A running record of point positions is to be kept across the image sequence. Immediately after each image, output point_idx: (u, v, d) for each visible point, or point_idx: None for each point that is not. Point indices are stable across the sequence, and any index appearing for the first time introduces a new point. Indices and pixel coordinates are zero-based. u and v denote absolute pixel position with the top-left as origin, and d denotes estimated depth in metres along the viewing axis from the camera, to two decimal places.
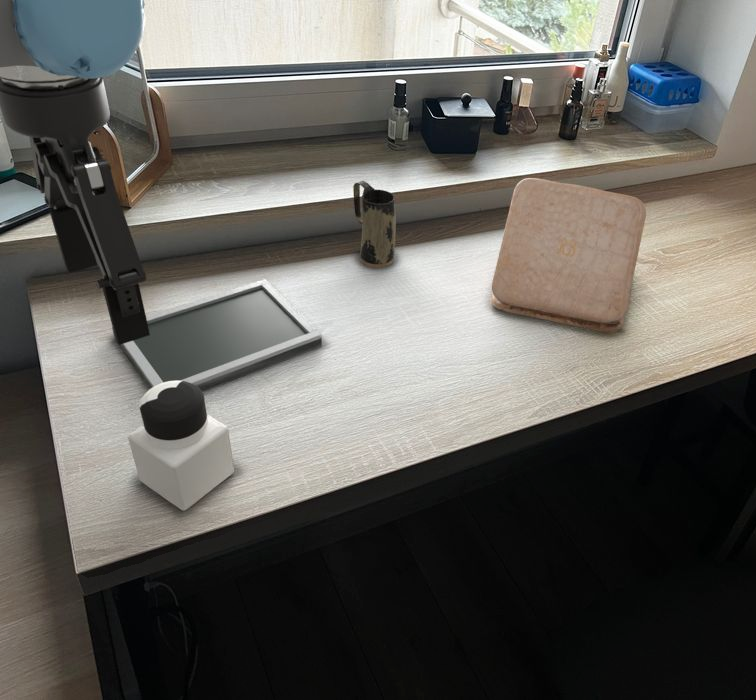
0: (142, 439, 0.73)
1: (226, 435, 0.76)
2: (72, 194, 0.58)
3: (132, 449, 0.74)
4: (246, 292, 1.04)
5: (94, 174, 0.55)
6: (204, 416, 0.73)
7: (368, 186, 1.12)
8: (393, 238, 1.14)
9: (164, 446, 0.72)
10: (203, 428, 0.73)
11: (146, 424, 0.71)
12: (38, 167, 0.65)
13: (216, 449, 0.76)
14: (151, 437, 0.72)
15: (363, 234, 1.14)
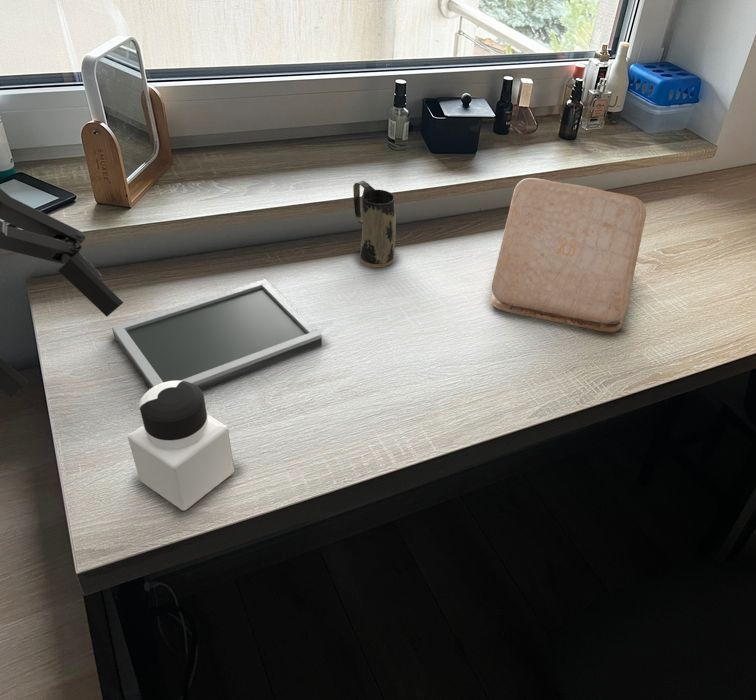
0: (142, 439, 0.73)
1: (226, 435, 0.76)
2: None
3: (132, 449, 0.74)
4: (246, 292, 1.04)
5: None
6: (204, 416, 0.73)
7: (368, 186, 1.12)
8: (393, 238, 1.14)
9: (164, 446, 0.72)
10: (203, 428, 0.73)
11: (146, 424, 0.71)
12: None
13: (216, 449, 0.76)
14: (151, 437, 0.72)
15: (363, 234, 1.14)
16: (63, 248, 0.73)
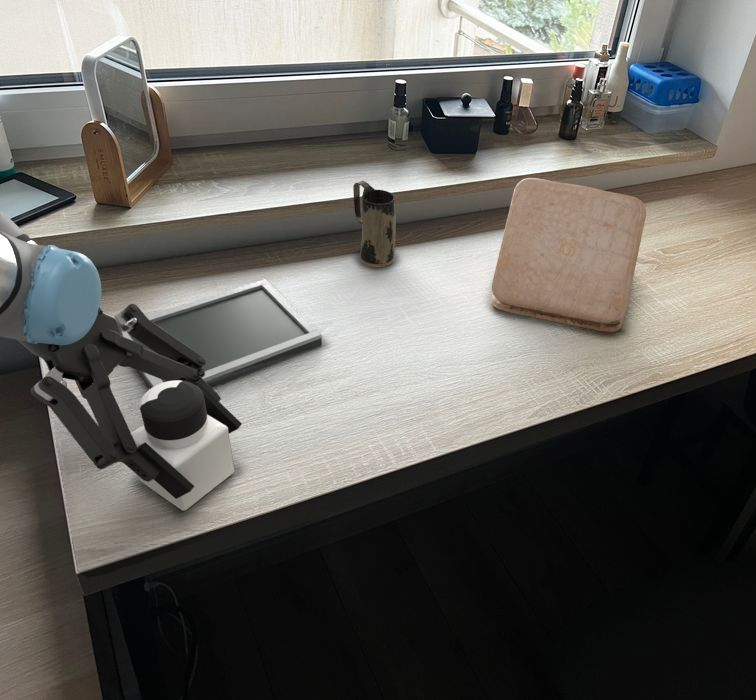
0: (142, 439, 0.73)
1: (226, 435, 0.76)
2: None
3: None
4: (246, 292, 1.04)
5: None
6: (204, 416, 0.73)
7: (368, 186, 1.12)
8: (393, 238, 1.14)
9: (164, 446, 0.72)
10: (203, 428, 0.73)
11: (146, 424, 0.71)
12: (95, 422, 0.67)
13: (216, 449, 0.76)
14: (151, 437, 0.72)
15: (363, 234, 1.14)
16: (188, 374, 0.77)
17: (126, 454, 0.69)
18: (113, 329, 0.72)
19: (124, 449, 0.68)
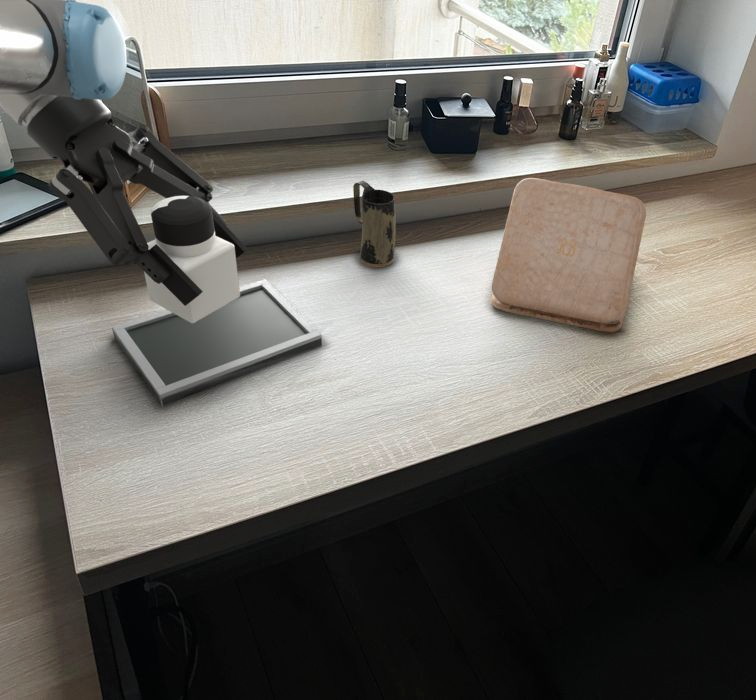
0: None
1: (233, 252, 0.80)
2: None
3: None
4: (246, 292, 1.04)
5: None
6: (212, 228, 0.77)
7: (368, 186, 1.12)
8: (393, 238, 1.14)
9: (174, 254, 0.76)
10: (211, 240, 0.77)
11: (157, 229, 0.74)
12: (109, 217, 0.71)
13: (223, 265, 0.79)
14: (161, 244, 0.75)
15: (363, 234, 1.14)
16: (196, 196, 0.80)
17: (138, 252, 0.72)
18: None
19: (136, 246, 0.72)
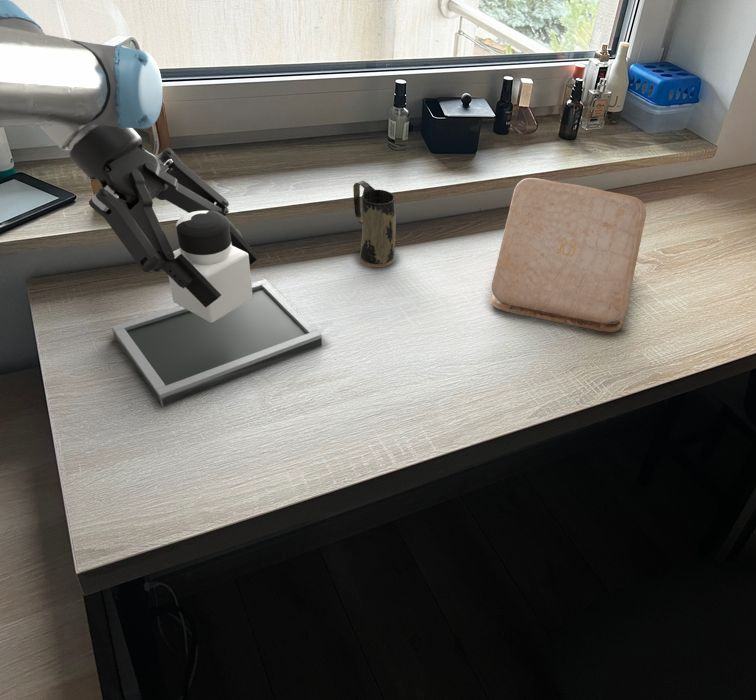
0: None
1: (247, 260, 0.90)
2: None
3: None
4: None
5: None
6: (229, 239, 0.87)
7: (368, 186, 1.12)
8: (393, 238, 1.14)
9: (196, 262, 0.87)
10: (228, 249, 0.88)
11: (181, 240, 0.85)
12: (141, 231, 0.81)
13: (239, 271, 0.90)
14: (185, 253, 0.86)
15: (363, 234, 1.14)
16: (214, 210, 0.91)
17: (166, 260, 0.83)
18: None
19: (164, 256, 0.83)
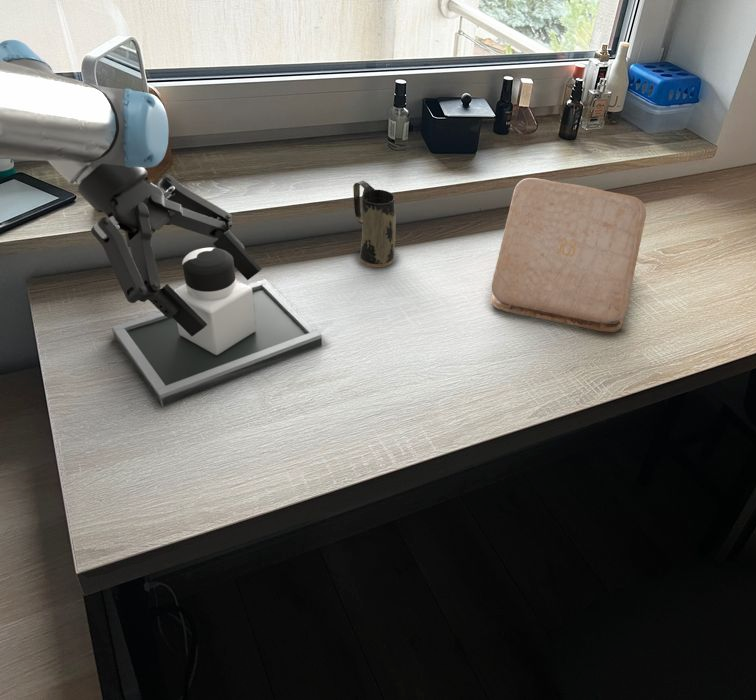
0: (184, 293, 0.91)
1: (250, 295, 0.93)
2: None
3: None
4: None
5: None
6: (233, 275, 0.91)
7: (368, 186, 1.12)
8: (393, 238, 1.14)
9: (202, 298, 0.90)
10: (233, 285, 0.91)
11: (187, 278, 0.88)
12: (133, 262, 0.83)
13: (243, 306, 0.93)
14: (191, 290, 0.89)
15: (363, 234, 1.14)
16: (219, 226, 0.95)
17: (150, 290, 0.83)
18: (160, 196, 0.89)
19: (150, 285, 0.83)
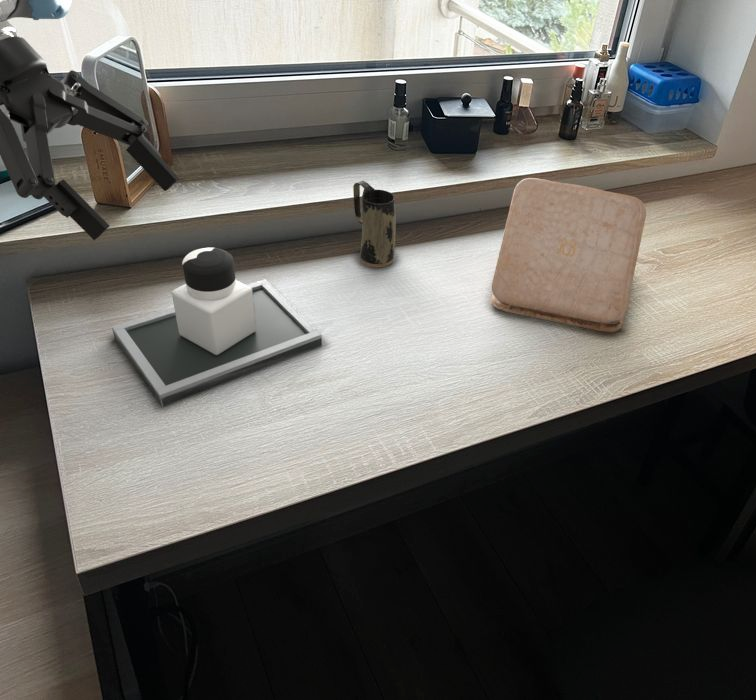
0: (184, 293, 0.91)
1: (250, 295, 0.93)
2: None
3: (175, 304, 0.92)
4: None
5: None
6: (233, 275, 0.91)
7: (368, 186, 1.12)
8: (393, 238, 1.14)
9: (202, 298, 0.90)
10: (233, 285, 0.91)
11: (187, 278, 0.88)
12: (24, 152, 0.76)
13: (243, 306, 0.93)
14: (191, 290, 0.89)
15: (363, 234, 1.14)
16: (131, 129, 0.88)
17: (44, 184, 0.77)
18: None
19: (43, 179, 0.77)
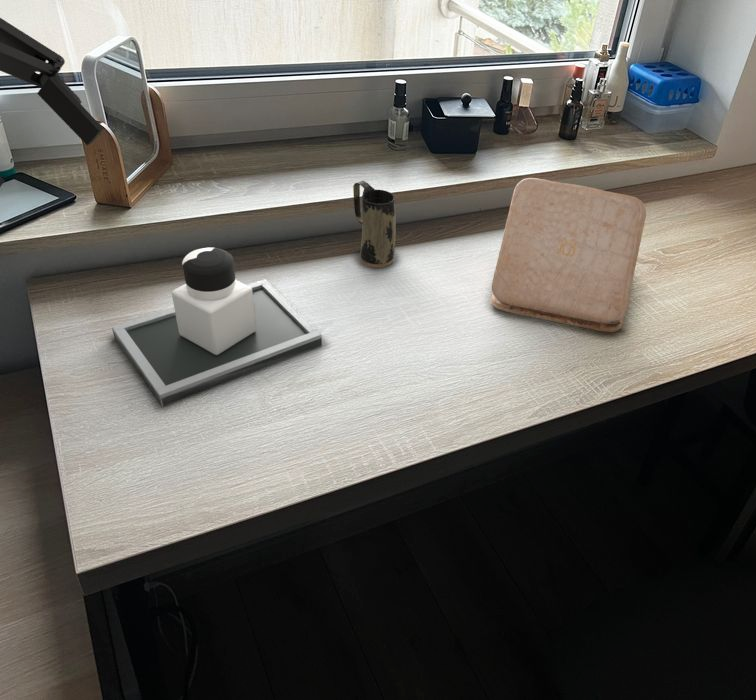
0: (184, 293, 0.91)
1: (250, 295, 0.93)
2: None
3: (175, 304, 0.92)
4: None
5: None
6: (233, 275, 0.91)
7: (368, 186, 1.12)
8: (393, 238, 1.14)
9: (202, 298, 0.90)
10: (233, 285, 0.91)
11: (187, 278, 0.88)
12: None
13: (243, 306, 0.93)
14: (191, 290, 0.89)
15: (363, 234, 1.14)
16: (42, 67, 0.72)
17: None
18: None
19: None
